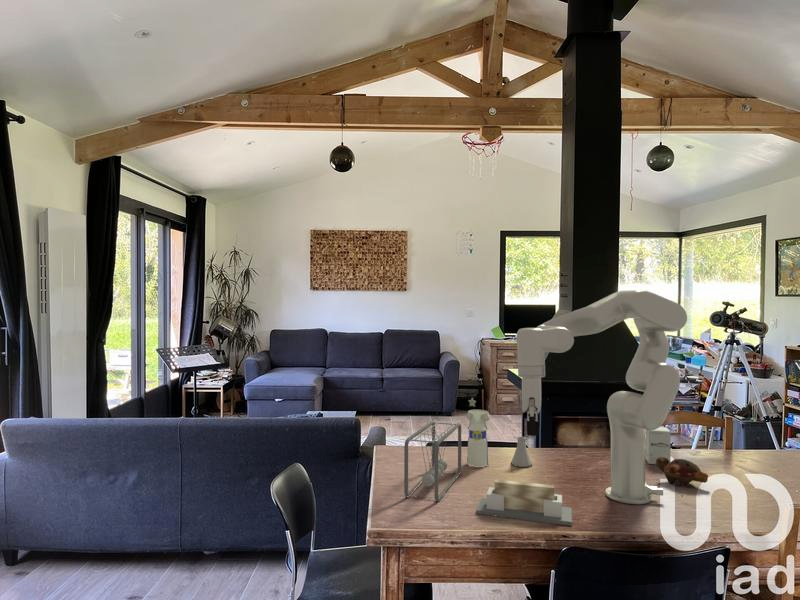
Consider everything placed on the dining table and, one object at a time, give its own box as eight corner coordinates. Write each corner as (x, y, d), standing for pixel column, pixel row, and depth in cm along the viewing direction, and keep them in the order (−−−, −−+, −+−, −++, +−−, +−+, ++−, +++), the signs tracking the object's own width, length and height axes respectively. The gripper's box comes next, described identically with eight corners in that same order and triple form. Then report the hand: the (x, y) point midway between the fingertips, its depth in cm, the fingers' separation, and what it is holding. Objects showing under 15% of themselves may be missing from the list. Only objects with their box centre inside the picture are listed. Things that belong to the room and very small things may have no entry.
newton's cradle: (432, 470, 179) (432, 419, 179) (461, 473, 175) (461, 421, 176) (403, 499, 151) (403, 439, 151) (437, 504, 147) (437, 442, 148)
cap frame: (571, 511, 142) (571, 493, 142) (572, 525, 133) (572, 506, 133) (481, 501, 150) (481, 484, 150) (476, 513, 140) (476, 495, 140)
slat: (554, 510, 140) (554, 485, 140) (554, 514, 138) (554, 488, 138) (495, 504, 145) (495, 479, 145) (494, 507, 142) (494, 482, 143)
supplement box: (648, 464, 186) (648, 429, 187) (645, 458, 193) (645, 425, 194) (671, 466, 184) (670, 431, 184) (666, 460, 191) (666, 426, 192)
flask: (507, 463, 187) (507, 436, 187) (523, 461, 190) (523, 434, 190) (519, 469, 180) (519, 440, 181) (536, 466, 184) (535, 438, 184)
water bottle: (489, 469, 180) (489, 398, 181) (465, 467, 182) (465, 397, 182) (490, 462, 188) (490, 394, 189) (467, 460, 190) (467, 393, 190)
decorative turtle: (659, 475, 174) (659, 452, 174) (710, 485, 164) (710, 460, 164) (652, 483, 166) (652, 458, 166) (705, 493, 157) (705, 467, 157)
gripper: (519, 367, 155) (521, 423, 155) (516, 375, 138) (518, 438, 138) (545, 367, 153) (547, 424, 153) (544, 375, 136) (547, 439, 136)
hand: (533, 431), depth 145 cm, fingers open, 9 cm apart
